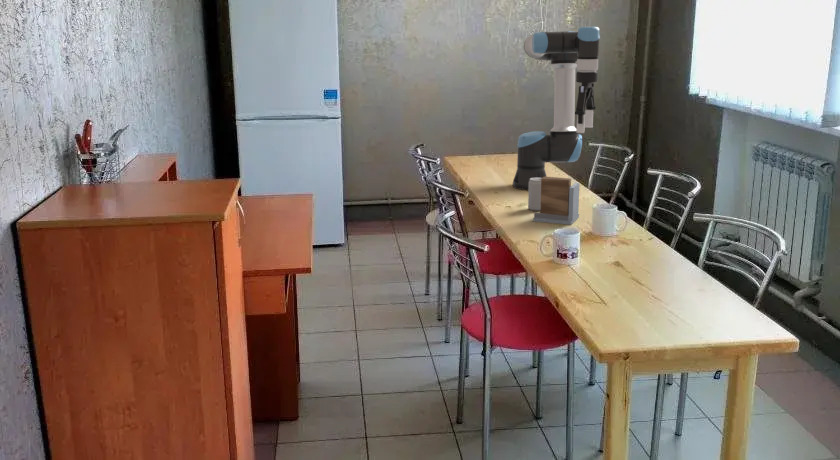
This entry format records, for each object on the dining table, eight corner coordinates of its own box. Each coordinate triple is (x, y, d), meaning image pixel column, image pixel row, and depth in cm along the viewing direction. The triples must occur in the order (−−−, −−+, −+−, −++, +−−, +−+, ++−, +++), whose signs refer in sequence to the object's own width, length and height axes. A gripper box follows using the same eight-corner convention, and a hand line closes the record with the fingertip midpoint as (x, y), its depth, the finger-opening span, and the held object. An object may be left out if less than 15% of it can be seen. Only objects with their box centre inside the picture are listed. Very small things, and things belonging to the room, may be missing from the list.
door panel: (542, 213, 290) (543, 176, 287) (569, 216, 287) (571, 178, 283) (540, 216, 287) (541, 178, 284) (567, 218, 283) (568, 180, 280)
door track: (541, 213, 295) (542, 179, 292) (579, 216, 289) (580, 182, 286) (532, 221, 284) (533, 185, 281) (571, 224, 279) (572, 188, 275)
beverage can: (544, 211, 297) (545, 180, 294) (527, 211, 299) (528, 180, 295) (545, 207, 303) (546, 177, 300) (528, 207, 305) (529, 176, 301)
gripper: (584, 68, 295) (582, 125, 301) (568, 73, 273) (566, 134, 279) (604, 68, 292) (601, 125, 298) (590, 73, 270) (587, 135, 276)
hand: (584, 130), depth 289 cm, fingers open, 13 cm apart
